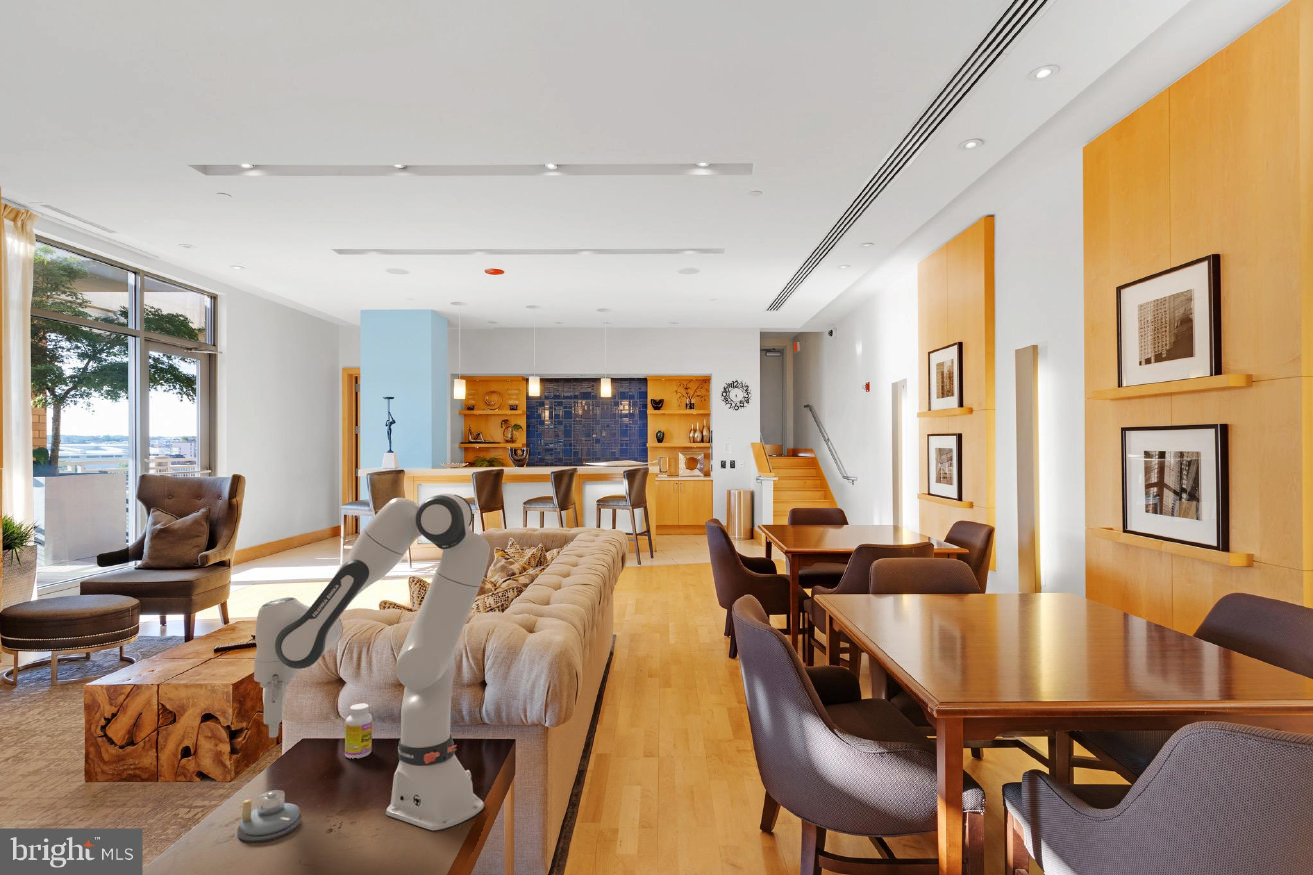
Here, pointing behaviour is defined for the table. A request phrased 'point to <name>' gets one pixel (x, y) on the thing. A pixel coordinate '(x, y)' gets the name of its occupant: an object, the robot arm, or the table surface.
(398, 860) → the table surface
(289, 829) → the turntable base
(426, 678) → the robot arm
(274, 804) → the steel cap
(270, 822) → the turntable
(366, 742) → the supplement bottle
